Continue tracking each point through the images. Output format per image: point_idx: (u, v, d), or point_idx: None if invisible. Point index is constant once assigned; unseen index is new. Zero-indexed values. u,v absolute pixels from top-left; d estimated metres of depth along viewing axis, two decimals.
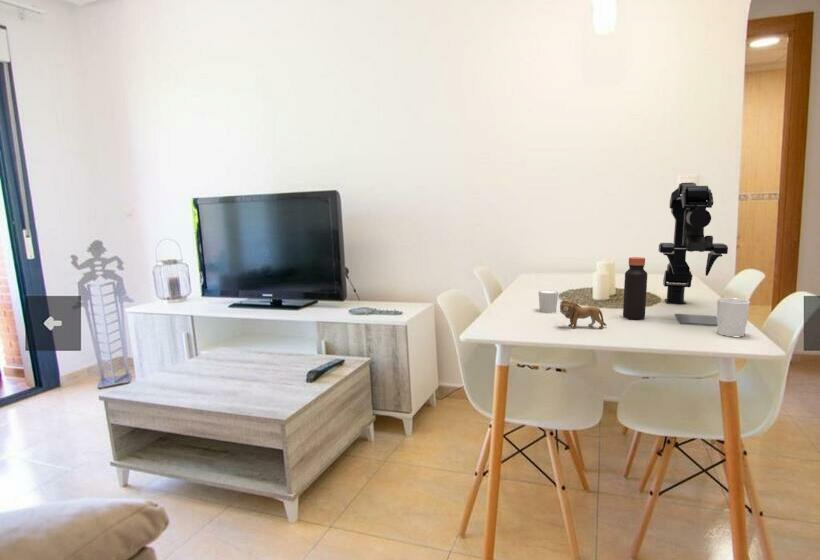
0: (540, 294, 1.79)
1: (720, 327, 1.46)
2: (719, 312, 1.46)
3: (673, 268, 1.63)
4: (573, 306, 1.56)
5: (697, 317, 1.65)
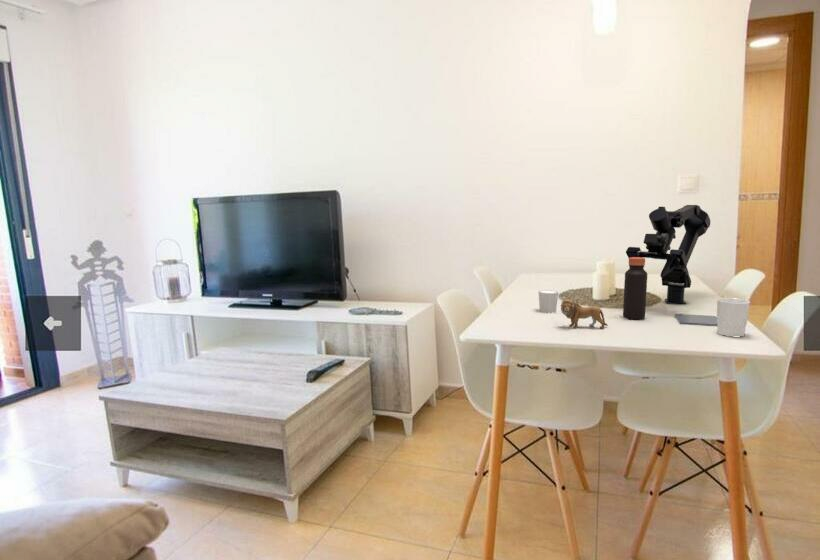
0: (540, 294, 1.79)
1: (720, 327, 1.46)
2: (719, 312, 1.46)
3: None
4: (574, 306, 1.56)
5: (697, 317, 1.65)
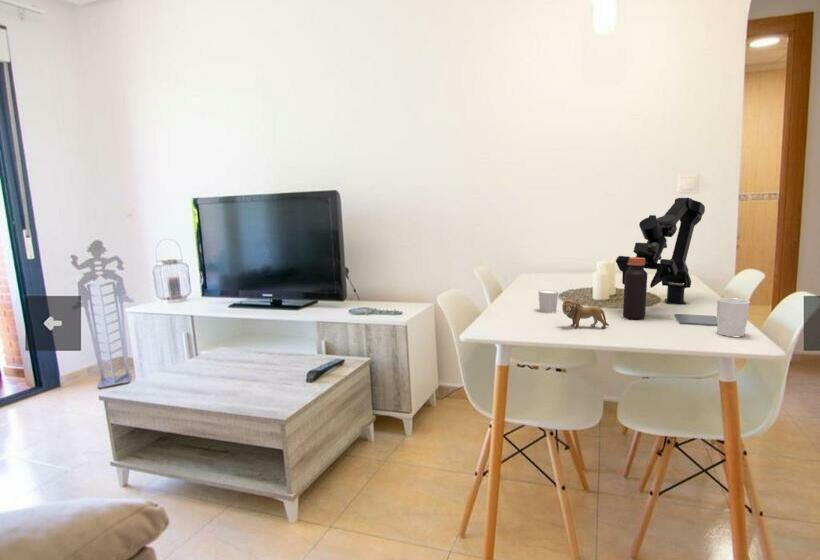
0: (540, 294, 1.79)
1: (720, 327, 1.46)
2: (719, 312, 1.46)
3: (623, 277, 1.72)
4: (575, 306, 1.56)
5: (697, 317, 1.65)
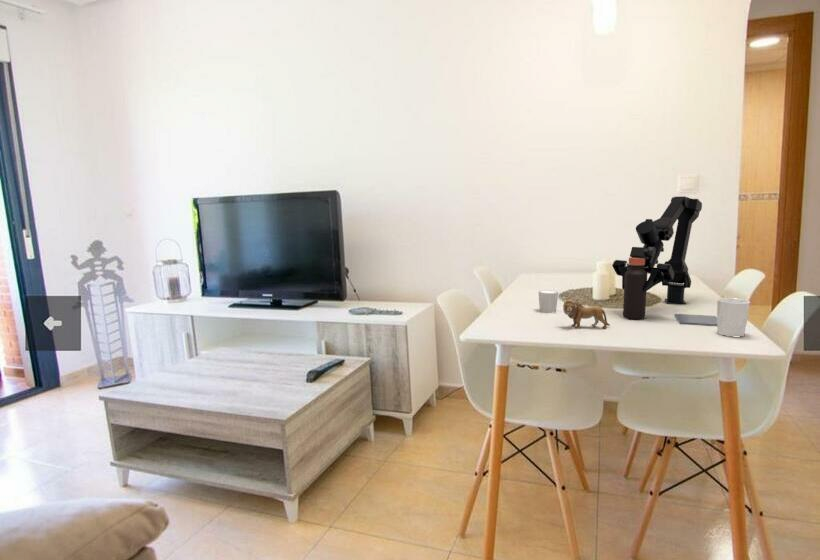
0: (540, 294, 1.79)
1: (720, 327, 1.46)
2: (719, 312, 1.46)
3: (623, 281, 1.69)
4: (576, 306, 1.56)
5: (697, 317, 1.65)
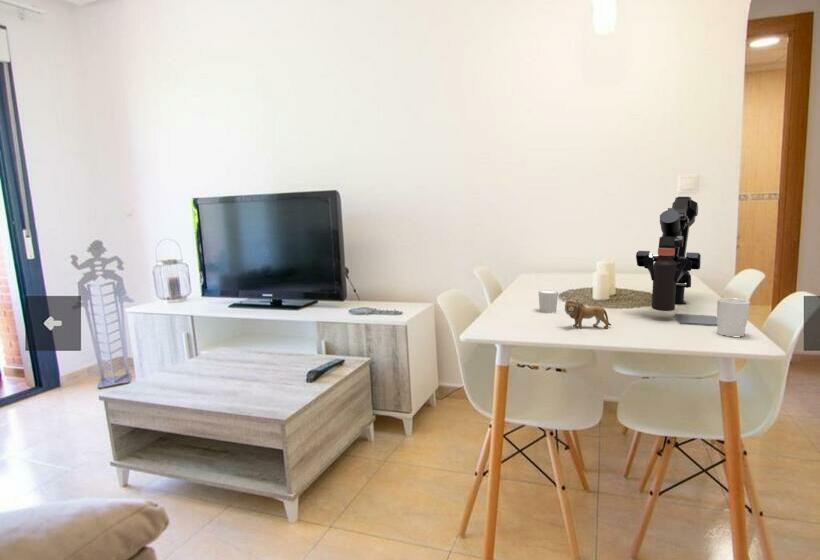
0: (540, 294, 1.79)
1: (720, 327, 1.46)
2: (719, 312, 1.46)
3: (651, 272, 1.65)
4: (578, 306, 1.56)
5: (697, 317, 1.65)
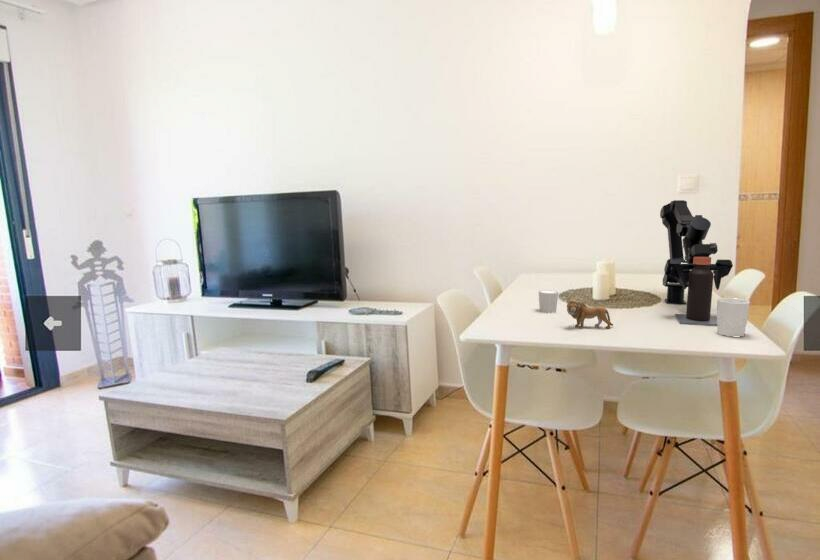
0: (540, 294, 1.79)
1: (720, 327, 1.46)
2: (719, 312, 1.46)
3: (683, 281, 1.62)
4: (580, 306, 1.56)
5: None
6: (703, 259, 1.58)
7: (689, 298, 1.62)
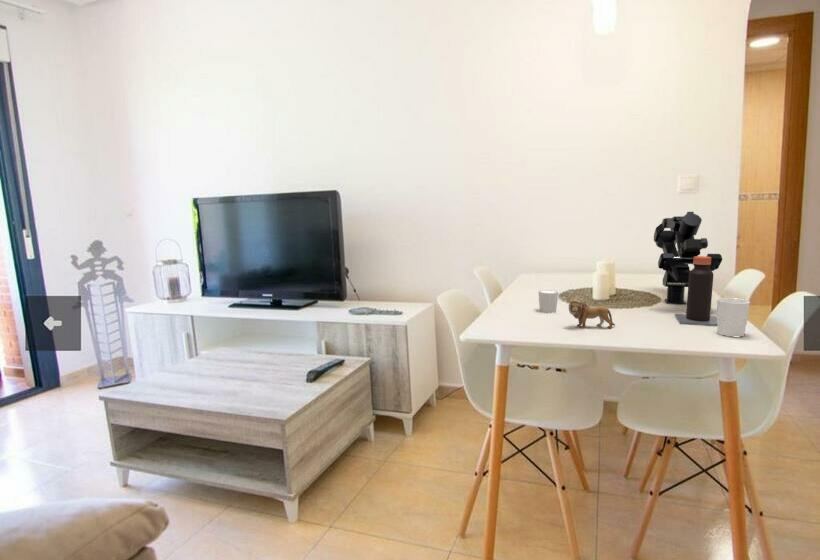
0: (540, 294, 1.79)
1: (720, 327, 1.46)
2: (719, 312, 1.46)
3: (676, 274, 1.71)
4: (582, 306, 1.56)
5: None
6: (703, 259, 1.58)
7: (689, 298, 1.62)
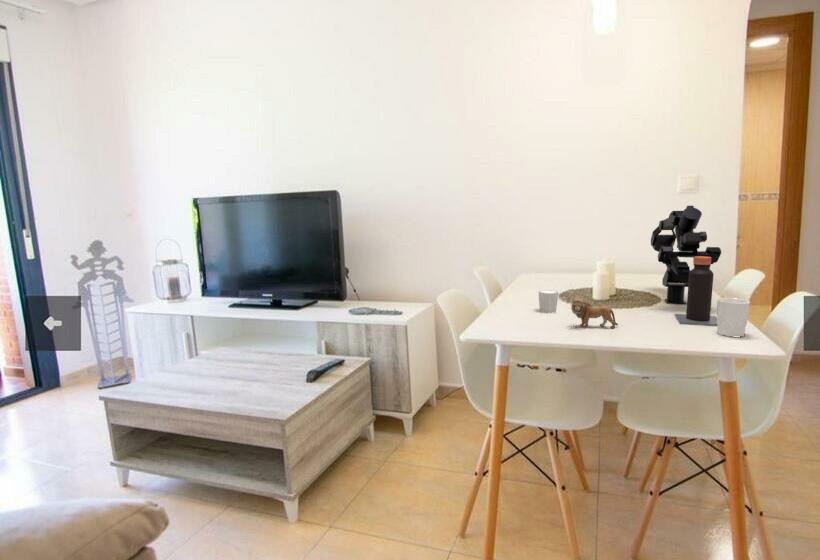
0: (540, 294, 1.79)
1: (720, 327, 1.46)
2: (719, 312, 1.46)
3: (675, 267, 1.73)
4: (585, 306, 1.56)
5: None
6: (703, 259, 1.58)
7: (689, 298, 1.62)
